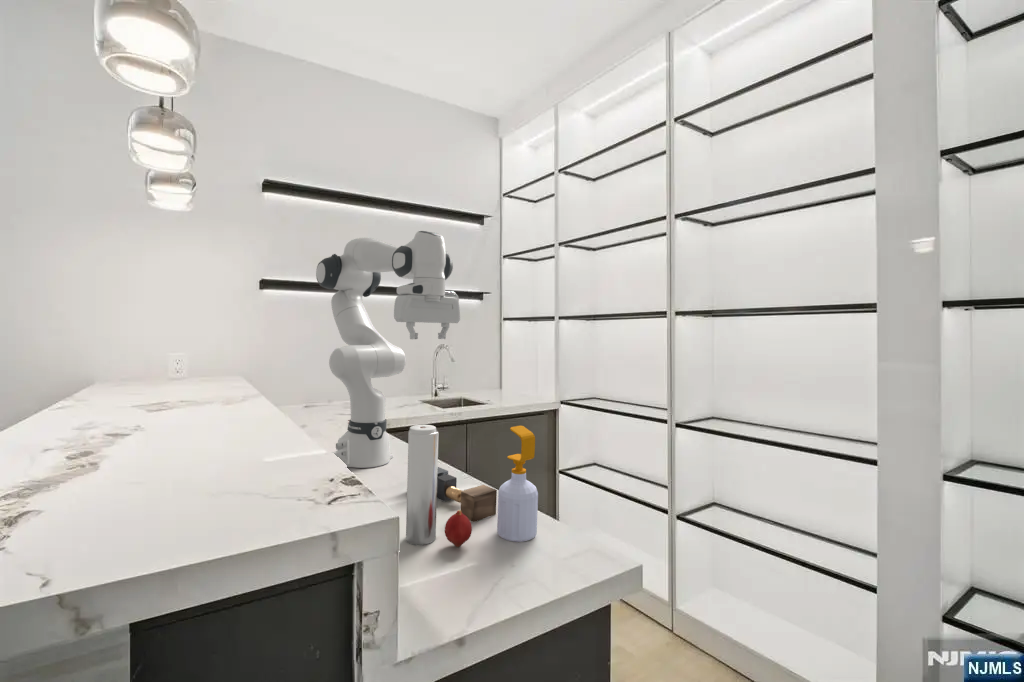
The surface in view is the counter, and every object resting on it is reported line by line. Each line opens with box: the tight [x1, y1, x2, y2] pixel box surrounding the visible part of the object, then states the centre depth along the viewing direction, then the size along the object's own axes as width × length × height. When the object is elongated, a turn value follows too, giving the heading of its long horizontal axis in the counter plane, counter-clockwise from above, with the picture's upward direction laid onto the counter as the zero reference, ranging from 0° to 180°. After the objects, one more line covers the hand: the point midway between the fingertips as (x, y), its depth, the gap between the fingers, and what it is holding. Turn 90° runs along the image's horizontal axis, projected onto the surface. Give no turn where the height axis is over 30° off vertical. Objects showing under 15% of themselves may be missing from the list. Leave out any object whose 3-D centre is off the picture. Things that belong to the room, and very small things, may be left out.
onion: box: [444, 509, 473, 548], centre depth 103 cm, size 6×6×8 cm
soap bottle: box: [496, 425, 539, 543], centre depth 109 cm, size 9×9×25 cm
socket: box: [460, 484, 498, 523], centre depth 119 cm, size 5×7×6 cm
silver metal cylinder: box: [405, 424, 440, 546], centre depth 105 cm, size 6×6×25 cm
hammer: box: [437, 473, 463, 504], centre depth 130 cm, size 17×4×6 cm, turn 45°
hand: (428, 339), depth 134 cm, fingers open, 8 cm apart
